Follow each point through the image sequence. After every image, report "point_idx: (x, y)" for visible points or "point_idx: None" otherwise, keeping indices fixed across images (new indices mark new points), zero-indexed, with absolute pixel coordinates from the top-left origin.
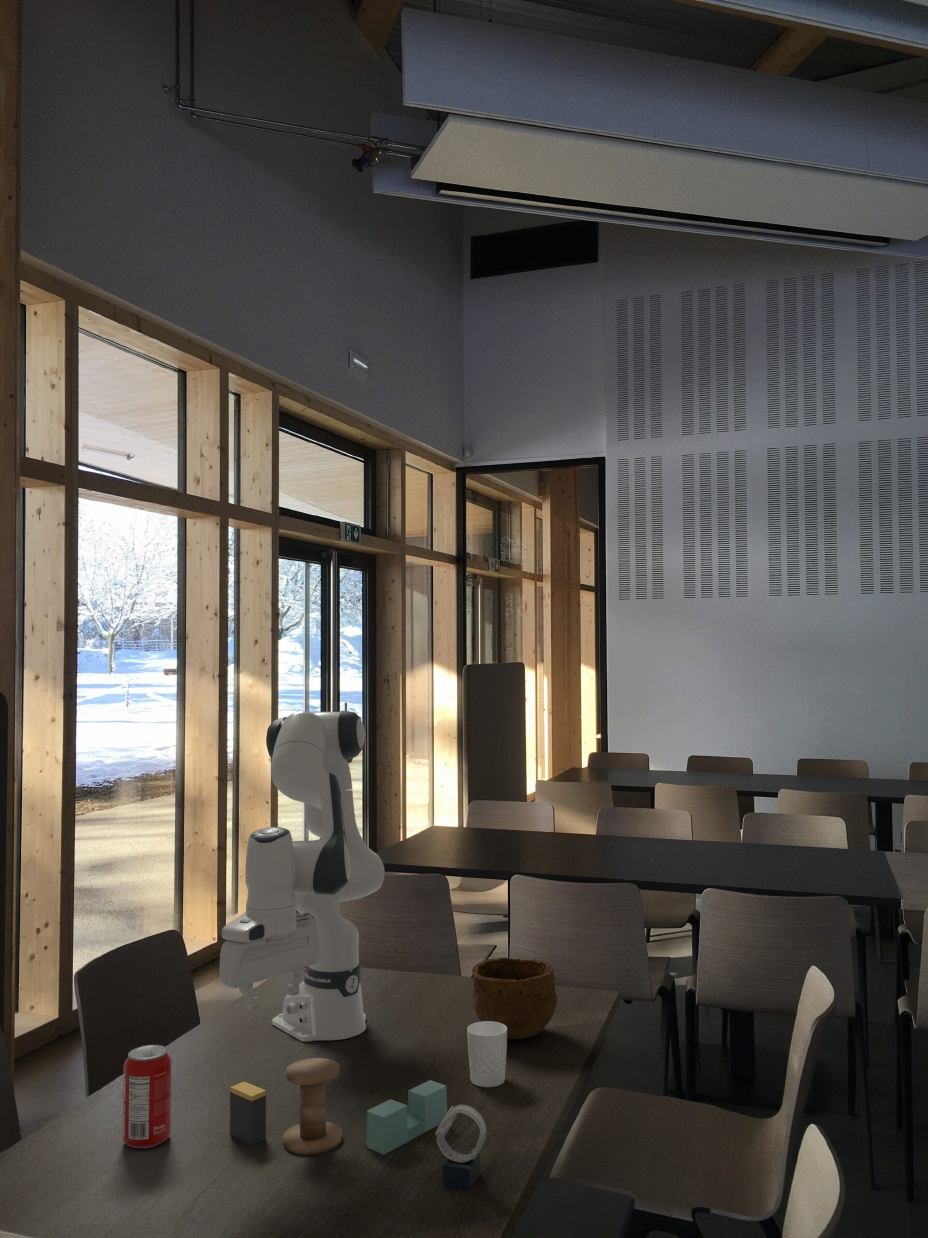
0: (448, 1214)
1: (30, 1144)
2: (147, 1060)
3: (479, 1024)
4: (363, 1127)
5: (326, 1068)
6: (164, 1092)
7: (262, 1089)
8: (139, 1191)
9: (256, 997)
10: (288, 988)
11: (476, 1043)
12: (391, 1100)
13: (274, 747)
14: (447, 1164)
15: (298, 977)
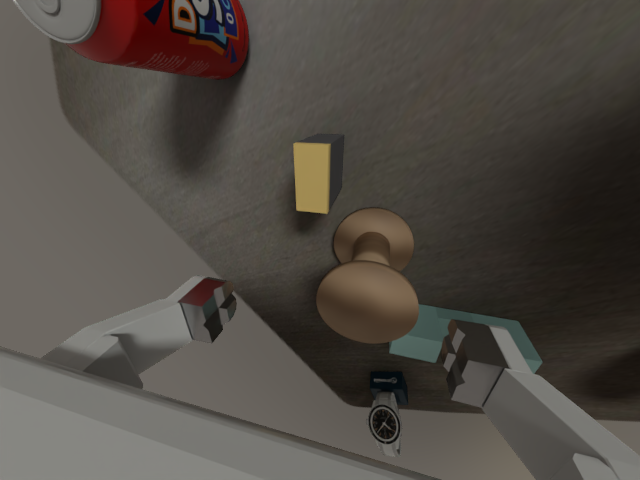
0: (340, 382)
1: None
2: (46, 33)
3: None
4: (439, 272)
5: (378, 326)
6: (168, 69)
7: (326, 205)
8: (175, 164)
9: (207, 338)
10: (457, 354)
11: None
12: (440, 344)
13: None
14: (373, 391)
15: (532, 463)
